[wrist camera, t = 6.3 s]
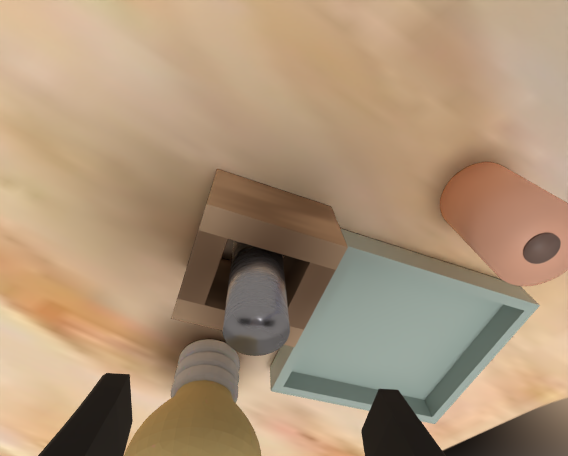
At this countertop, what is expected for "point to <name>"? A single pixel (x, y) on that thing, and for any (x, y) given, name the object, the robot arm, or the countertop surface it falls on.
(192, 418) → the light bulb
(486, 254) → the terracotta round
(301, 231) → the walnut block
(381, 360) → the tray
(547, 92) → the countertop surface
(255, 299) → the cylinder
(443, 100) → the countertop surface
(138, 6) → the countertop surface
